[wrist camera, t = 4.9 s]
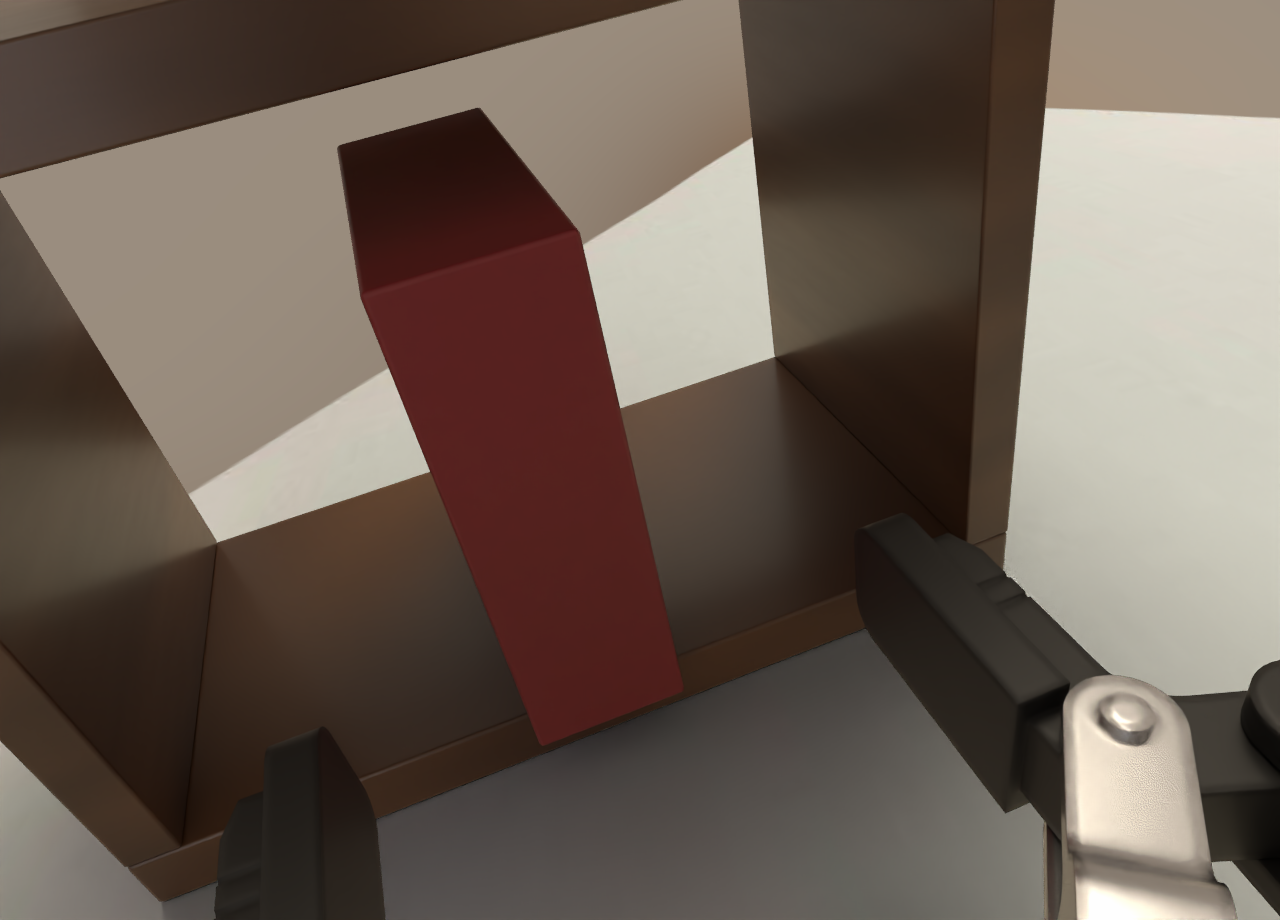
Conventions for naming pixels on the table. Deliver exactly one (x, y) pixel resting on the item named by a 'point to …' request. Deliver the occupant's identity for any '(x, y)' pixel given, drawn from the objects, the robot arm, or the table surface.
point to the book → (513, 411)
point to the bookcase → (412, 509)
